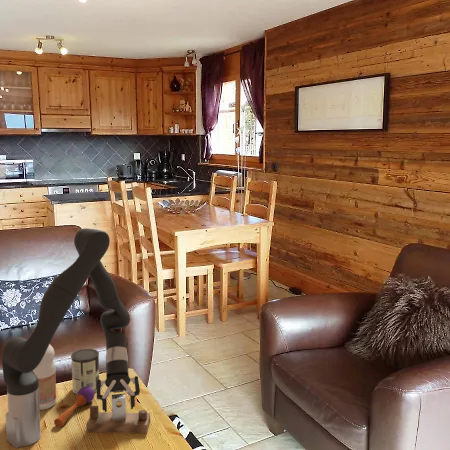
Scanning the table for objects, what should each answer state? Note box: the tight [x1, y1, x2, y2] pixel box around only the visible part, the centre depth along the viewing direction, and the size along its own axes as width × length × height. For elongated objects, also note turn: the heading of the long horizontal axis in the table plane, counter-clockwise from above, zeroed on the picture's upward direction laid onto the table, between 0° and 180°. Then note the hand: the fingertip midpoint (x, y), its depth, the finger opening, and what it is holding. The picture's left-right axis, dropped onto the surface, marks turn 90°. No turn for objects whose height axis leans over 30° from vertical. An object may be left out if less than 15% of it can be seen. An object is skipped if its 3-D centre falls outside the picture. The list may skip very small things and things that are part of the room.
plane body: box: [85, 405, 151, 434], centre depth 166 cm, size 20×7×7 cm, turn 91°
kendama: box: [53, 386, 95, 428], centre depth 175 cm, size 6×6×20 cm
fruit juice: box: [32, 330, 57, 411], centre depth 177 cm, size 9×9×28 cm
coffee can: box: [70, 348, 100, 395], centre depth 190 cm, size 10×10×14 cm
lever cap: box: [111, 392, 127, 422], centre depth 165 cm, size 4×3×8 cm
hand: (119, 409), depth 164 cm, fingers open, 8 cm apart
